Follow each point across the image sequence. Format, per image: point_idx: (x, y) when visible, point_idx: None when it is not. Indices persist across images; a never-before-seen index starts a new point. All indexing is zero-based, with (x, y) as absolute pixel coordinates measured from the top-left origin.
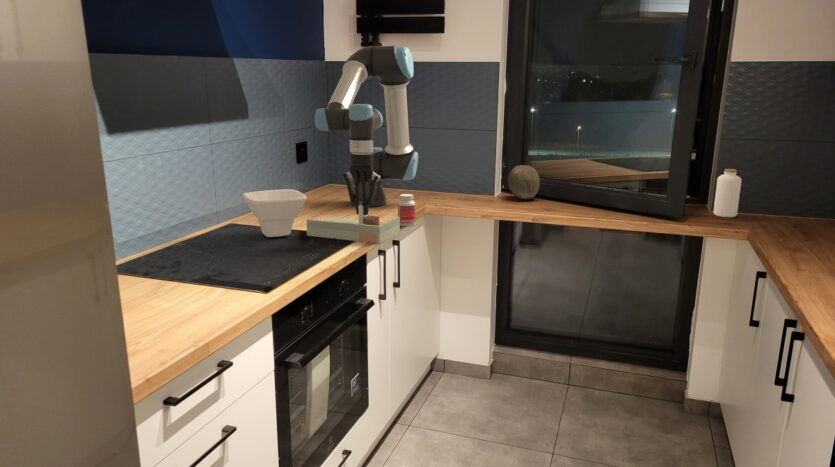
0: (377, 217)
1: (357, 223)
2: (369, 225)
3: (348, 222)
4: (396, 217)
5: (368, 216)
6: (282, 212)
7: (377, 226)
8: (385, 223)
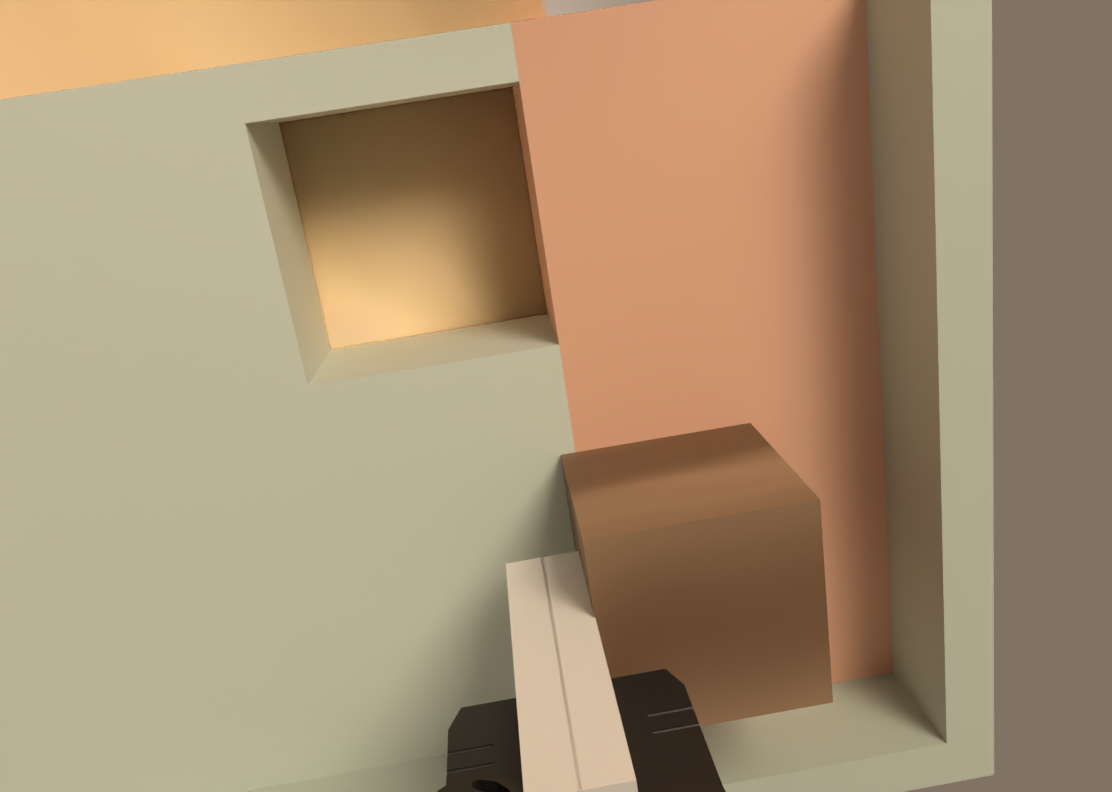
0: (822, 559)
1: (241, 346)
2: (814, 789)
3: (53, 370)
4: (962, 37)
5: (642, 607)
6: None
7: (954, 773)
8: (981, 563)
